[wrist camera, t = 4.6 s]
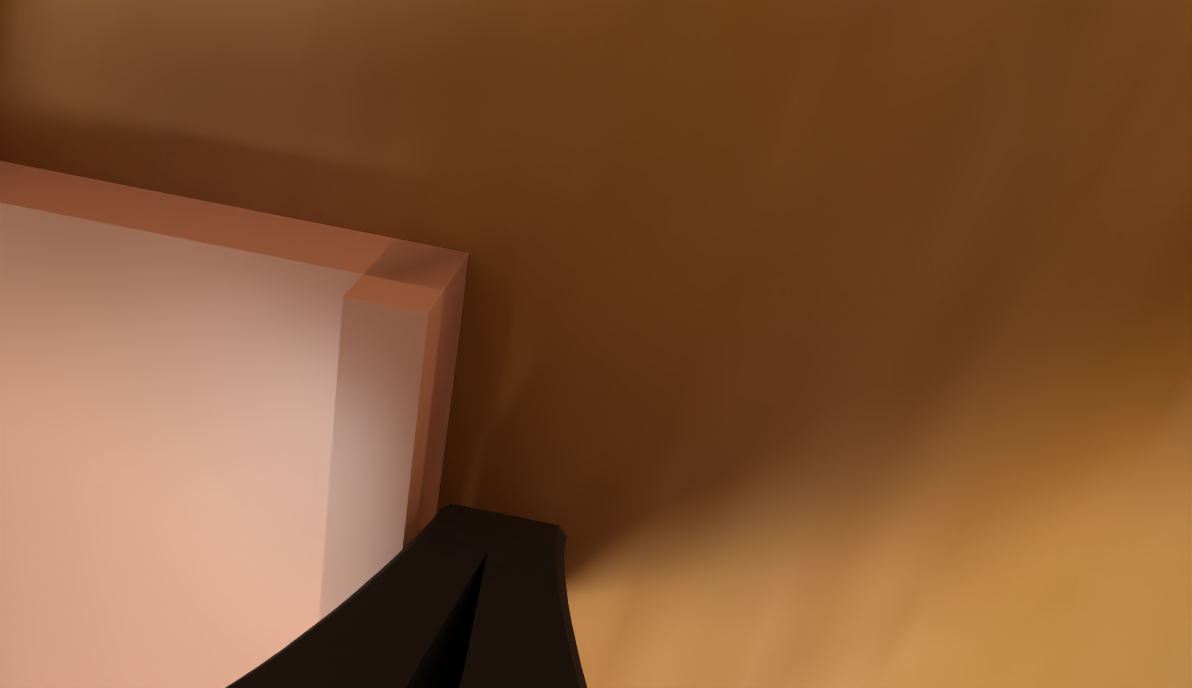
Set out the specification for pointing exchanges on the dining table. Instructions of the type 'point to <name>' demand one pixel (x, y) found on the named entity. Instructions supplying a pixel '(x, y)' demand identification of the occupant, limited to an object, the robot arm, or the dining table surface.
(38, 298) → the stepped pink slab
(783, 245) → the dining table surface
